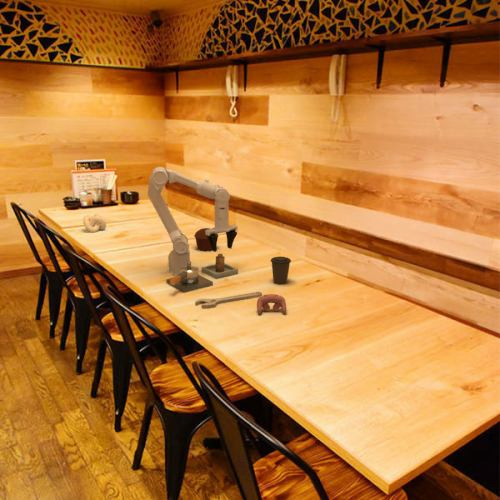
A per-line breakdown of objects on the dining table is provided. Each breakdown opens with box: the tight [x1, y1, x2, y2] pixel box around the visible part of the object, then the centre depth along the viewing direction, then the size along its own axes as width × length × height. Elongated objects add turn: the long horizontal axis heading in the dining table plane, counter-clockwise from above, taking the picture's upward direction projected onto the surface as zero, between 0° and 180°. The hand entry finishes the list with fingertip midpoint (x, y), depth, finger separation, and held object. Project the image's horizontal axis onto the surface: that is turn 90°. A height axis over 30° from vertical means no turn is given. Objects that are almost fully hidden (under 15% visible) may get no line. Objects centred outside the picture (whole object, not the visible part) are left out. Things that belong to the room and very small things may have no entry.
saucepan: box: [169, 260, 199, 286], centre depth 177 cm, size 16×7×7 cm, turn 159°
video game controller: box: [256, 293, 287, 316], centre depth 158 cm, size 10×5×7 cm, turn 93°
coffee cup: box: [270, 255, 292, 285], centre depth 184 cm, size 8×8×10 cm
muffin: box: [193, 227, 219, 252], centre depth 228 cm, size 12×11×10 cm
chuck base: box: [166, 274, 214, 293], centre depth 182 cm, size 13×13×2 cm
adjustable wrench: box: [194, 291, 263, 310], centre depth 166 cm, size 25×6×2 cm, turn 112°
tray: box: [201, 262, 239, 280], centre depth 195 cm, size 11×11×2 cm
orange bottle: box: [215, 253, 225, 272], centre depth 194 cm, size 4×4×7 cm
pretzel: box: [82, 213, 107, 233], centre depth 260 cm, size 11×12×9 cm
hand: (222, 249), depth 195 cm, fingers open, 7 cm apart
